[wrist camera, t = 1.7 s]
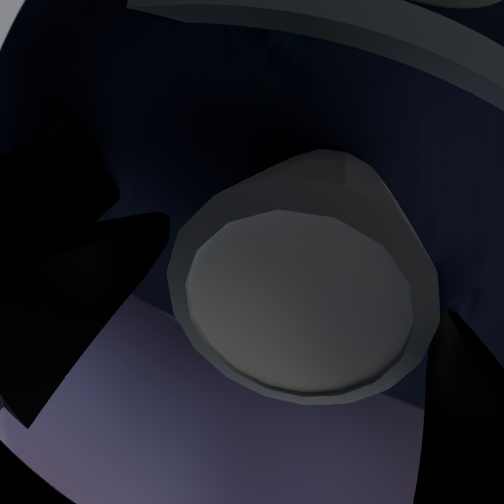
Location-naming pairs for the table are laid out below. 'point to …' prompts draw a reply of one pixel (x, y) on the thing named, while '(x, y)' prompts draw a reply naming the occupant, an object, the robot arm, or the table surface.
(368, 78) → the table surface
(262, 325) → the shot glass
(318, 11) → the low wall
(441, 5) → the grey round disc
